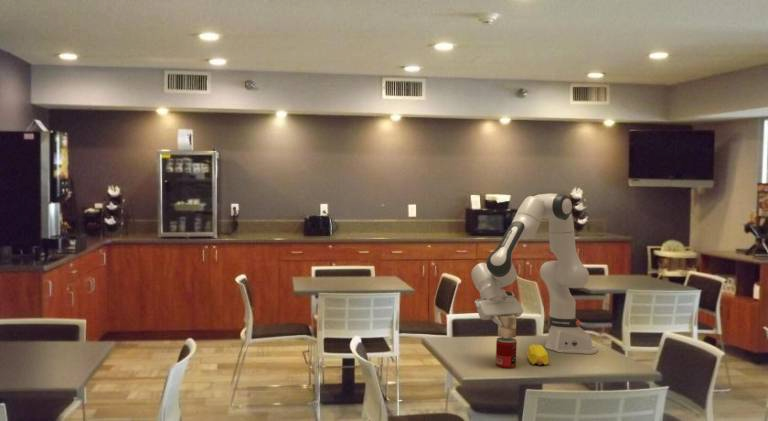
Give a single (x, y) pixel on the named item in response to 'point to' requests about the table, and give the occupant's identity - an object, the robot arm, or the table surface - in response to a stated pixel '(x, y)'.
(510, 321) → the beige cylinder
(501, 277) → the robot arm
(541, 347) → the yellow lumpy piece
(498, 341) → the canned food
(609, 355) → the table surface
